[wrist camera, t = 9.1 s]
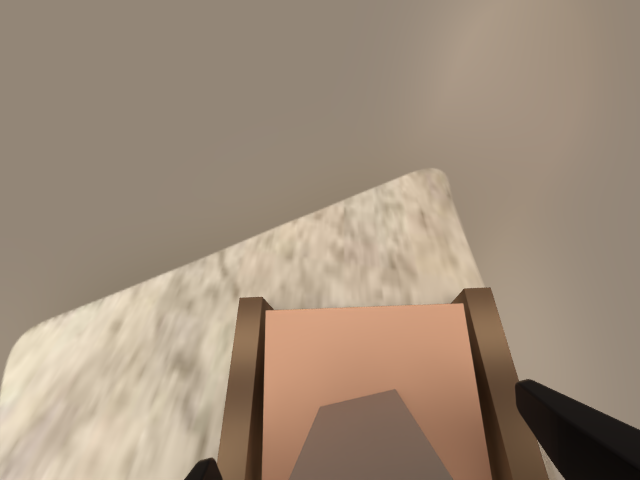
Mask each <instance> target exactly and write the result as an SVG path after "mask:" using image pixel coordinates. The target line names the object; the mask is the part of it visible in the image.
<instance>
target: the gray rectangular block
mask: <svg viewBox="0 0 640 480" xmlns="http://www.w3.org/2000/svg"><path fill="white" fill-rule="evenodd" d="M289 480H453V478H452V477H451V475H450V474H449V472H448V470H447V469H446V467H445V466H444V464H443V463H442V461H441V459H440V458H439V456H438V455H437V453H436V452H435V450H434V448H433V447H432V445H431V444H430V442H429V441H428V439H427V438H426V436H425V434H424V433H423V431H422V430H421V428H420V427H419V425H418V423H417V422H416V420H415V419H414V417H413V416H412V414H411V412H410V411H409V409H408V408H407V406H406V405H405V403H404V402H403V400H402V398H401V397H400V395H399V394H398V392H397V391H396V389H393V390H389V391H384V392H380V393H376V394H372V395H367V396H363V397H359V398H355V399H350V400H346V401H342V402H338V403H333V404H329V405H325V406H321V407H320V408H319V410H318V412H317V415H316V417H315V419H314V422H313V424H312V426H311V429H310V431H309V433H308V436H307V438H306V440H305V442H304V445H303V447H302V449H301V452H300V454H299V456H298V459H297V461H296V463H295V466H294V468H293V470H292V473H291V475H290V477H289Z"/></svg>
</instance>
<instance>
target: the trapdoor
mask: <svg viewBox="0 0 640 480" xmlns="http://www.w3.org/2000/svg"><path fill="white" fill-rule="evenodd" d="M393 389H396V391H397V392H398V394H399V395H400V397H401V398H402V400H403V402H404V403H405V405H406V406H407V408H408V409H409V411H410V412H411V414H412V416H413V417H414V419H415V420H416V422H417V423H418V425H419V427H420V428H421V430H422V431H423V433H424V434H425V436H426V438H427V439H428V441H429V442H430V444H431V445H432V447H433V448H434V450H435V452H436V453H437V455H438V456H439V458H440V459H441V461H442V463H443V464H444V466H445V467H446V469H447V470H448V472H449V474H450V475H451V477H452V478H453V480H492V476H491V470H490V463H489V457H488V451H487V445H486V439H485V433H484V427H483V421H482V415H481V409H480V403H479V397H478V390H477V384H476V378H475V372H474V366H473V360H472V354H471V348H470V342H469V336H468V330H467V323H466V317H465V311H464V305H463V303H459V304H432V305H405V306H377V307H350V308H322V309H295V310H268V311H266V322H265V365H264V408H263V451H262V480H289V477H290V475H291V473H292V470H293V468H294V466H295V463H296V461H297V459H298V456H299V454H300V452H301V449H302V447H303V445H304V442H305V440H306V438H307V436H308V433H309V431H310V429H311V426H312V424H313V422H314V419H315V417H316V415H317V412H318V410H319V408H320V407H321V406H325V405H329V404H333V403H338V402H342V401H346V400H350V399H355V398H359V397H363V396H367V395H372V394H376V393H380V392H384V391H389V390H393Z"/></svg>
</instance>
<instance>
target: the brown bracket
mask: <svg viewBox="0 0 640 480" xmlns="http://www.w3.org/2000/svg"><path fill="white" fill-rule="evenodd" d="M459 303H463V305H464V311H465V317H466V323H467V330H468V336H469V342H470V348H471V354H472V360H473V366H474V372H475V378H476V384H477V390H478V397H479V403H480V409H481V415H482V421H483V427H484V433H485V439H486V445H487V451H488V457H489V463H490V470H491V476H492V480H549V478H548V475H547V472H546V468H545V465H544V462H543V459H542V455H541V452H540V449H539V445H538V442H537V439H536V437H535V436H534V434H533V433H532V431H531V430H530V428H529V427H528V425H527V424H526V422H525V421H524V419H523V418H522V416H521V415H520V413H519V411H518V409H517V406H516V398H515V383H516V382H518V381H519V380H518V376H517V373H516V370H515V367H514V363H513V360H512V357H511V353H510V350H509V347H508V343H507V340H506V337H505V334H504V330H503V327H502V324H501V320H500V317H499V314H498V310H497V307H496V304H495V301H494V298H493V294H492V291H491V288H467V289H463V290H462V292H461V293H460V294H459V295H458V296H457V297H456V298H455V300H454V301H453V302H452V303H451V304H459ZM268 310H274V309H273V308H272V307H271V306H270V305H269V304H268V303H267V302H266V300H265V299H264V298H263V297H249V298H240V300H239V307H238V314H237V322H236V329H235V336H234V343H233V351H232V358H231V365H230V373H229V380H228V387H227V395H226V402H225V409H224V416H223V424H222V431H221V438H220V446H219V453H218V460H217V466H218V468H219V471H220V473H221V475H222V478H223V480H262V451H263V408H264V365H265V322H266V311H268Z"/></svg>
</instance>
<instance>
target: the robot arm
mask: <svg viewBox="0 0 640 480" xmlns="http://www.w3.org/2000/svg"><path fill="white" fill-rule="evenodd" d="M515 398H516V406H517V409H518V411H519V413H520V415H521V416H522V418H523V419H524V421H525V422H526V424H527V425H528V427H529V428H530V430H531V431H532V433H533V434H534V436H535V437H536V439H537V440H538V441H539V443H540V444H541V446H542V447H543V449H544V450H545V452H546V453H547V455H548V456H549V458H550V459H551V461H552V462H553V464H554V465H555V467H556V468H557V469H558V471H559V472H560V473H561V475H562V476H563V477H564V478H565V480H640V430H639V429H637V428H634V427H632V426H630V425H628V424H625V423H624V422H621V421H619V420H617V419H615V418H613V417H611V416H609V415H606V414H604V413H602V412H600V411H598V410H595V409H594V408H591V407H589V406H587V405H585V404H583V403H581V402H578V401H576V400H574V399H572V398H570V397H568V396H565V395H563V394H561V393H559V392H557V391H555V390H552V389H550V388H548V387H546V386H544V385H542V384H540V383H537V382H535V381H533V380H529V379H526V380H522V381H518V382H516V383H515ZM184 480H223V478H222V475H221V473H220V471H219V468H218V466H217V464H216V461H215V459H213V458H208V459H204V460H200V461H199V462H197V464H196V465H195V466H194V467H193V469H192V470H191V471H190V473H189V474H188V475H187V477H186V478H185V479H184Z"/></svg>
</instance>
